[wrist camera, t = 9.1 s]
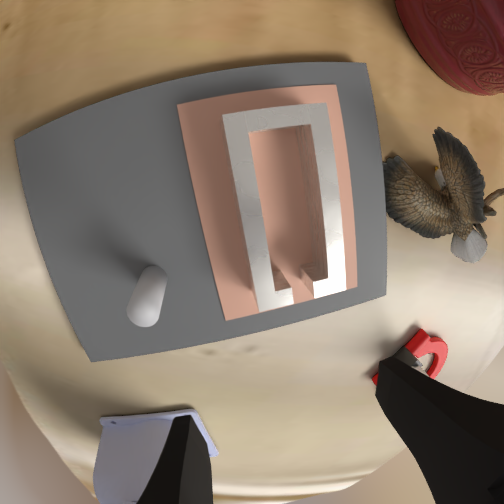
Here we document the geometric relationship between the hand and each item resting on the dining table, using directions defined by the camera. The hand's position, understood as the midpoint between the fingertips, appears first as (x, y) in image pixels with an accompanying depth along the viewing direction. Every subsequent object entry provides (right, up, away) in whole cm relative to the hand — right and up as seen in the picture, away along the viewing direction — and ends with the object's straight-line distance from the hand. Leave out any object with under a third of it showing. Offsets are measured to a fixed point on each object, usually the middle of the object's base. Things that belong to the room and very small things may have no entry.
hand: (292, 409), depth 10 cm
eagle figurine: (+11, +10, +10) cm, 18 cm away
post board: (-4, +8, +7) cm, 11 cm away
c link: (0, +8, +7) cm, 11 cm away
